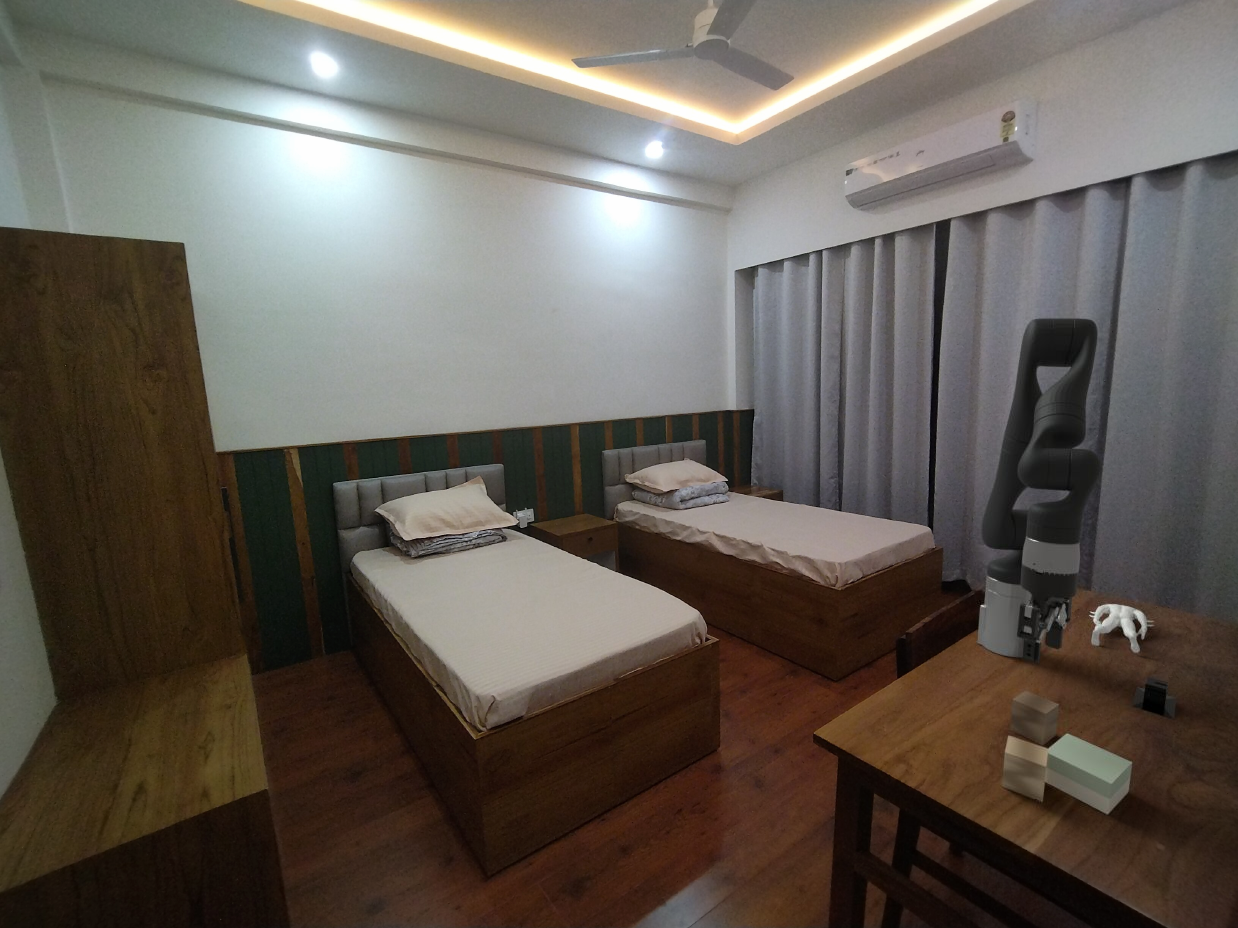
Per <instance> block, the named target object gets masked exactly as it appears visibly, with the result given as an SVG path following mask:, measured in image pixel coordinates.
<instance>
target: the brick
mask: <svg viewBox="0 0 1238 928" xmlns="http://www.w3.org/2000/svg"><path fill="white" fill-rule="evenodd" d="M1006 740H1007V741H1006V746H1005V749H1004V756H1003V759H1004V760H1003V768H1002V781H1001V787H1003V788H1005V789H1006V790H1007V789H1008V790H1010V791H1012V792H1015V793H1018V794H1019V795H1022V796H1025V797H1028V798H1030V799H1033V800H1035V799H1037V800H1036V801H1038V800H1039V801H1038V802H1040V801H1041V803H1043V801H1044V794H1045V785H1046V784H1045V783H1046V782H1045V775H1046V765H1047V756H1048V748H1047V747H1044V746H1042V745H1040V744H1039V745H1038V744H1037V743H1036V744H1035V743H1032V742H1029V741H1026V740H1023V739H1020V738H1017V737H1015V736H1012V735H1008V736H1007V739H1006Z"/></svg>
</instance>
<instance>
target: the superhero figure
mask: <svg viewBox="0 0 1238 928" xmlns="http://www.w3.org/2000/svg"><path fill="white" fill-rule="evenodd" d="M1090 613H1091V614H1093V615H1090V614H1089V615H1088V616H1089V617H1091V618H1092V619H1093V620H1092V621H1093V623H1094V624H1095V627H1094V630H1093V631H1092V636H1091V645H1092V646H1094V647H1095V646H1096V647H1099V645H1100V634H1108V633H1110V632H1111V631H1112V630H1113V629H1115V628H1117V627H1118V628H1122V630H1123V631H1122V632H1123V635H1125V637H1127V638H1128V639H1129V642H1130V644H1131V645H1130V649H1131V651H1132V652H1133V653H1135V654H1136V653H1139V652H1140V650H1141V649H1140V645H1139V644H1138V641H1137V637H1139V636H1140V635H1141V640H1144V639H1145V635H1146V633H1147V631H1148V627H1153V626H1155V625H1154V624H1148V623H1154V622H1155V620H1148V619H1147V616H1146V615H1145V614H1144V613H1143V612H1142V611H1141V610H1139V609H1136V608H1134V607H1131V606H1128V605H1127V606H1126V605H1123V604H1121V605H1120V604H1116V603H1112V604H1111V603H1106V604H1102V605H1101V606H1100V605H1099V606H1098V607H1097V608H1096V610H1095V612H1094V611H1093V612H1092V611H1090ZM1104 614H1107V615H1108V614H1109V616H1108V617H1106V618H1105V619H1104V620H1103V621H1100V618H1101V617H1103V615H1104ZM1134 620H1138V622H1139V623H1140V625H1141V628H1140V629H1139V630H1138V631H1137V632H1136V626H1135V625H1136V624H1135V623H1134V622H1133V621H1134Z"/></svg>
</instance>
